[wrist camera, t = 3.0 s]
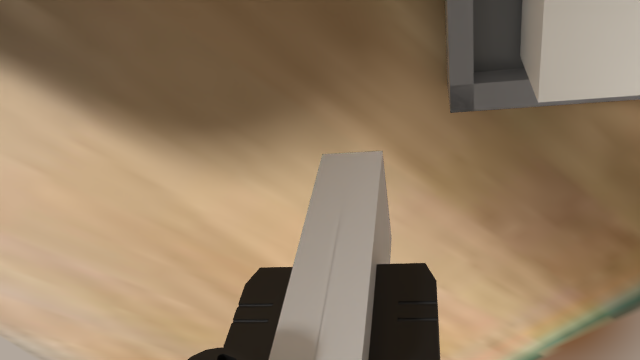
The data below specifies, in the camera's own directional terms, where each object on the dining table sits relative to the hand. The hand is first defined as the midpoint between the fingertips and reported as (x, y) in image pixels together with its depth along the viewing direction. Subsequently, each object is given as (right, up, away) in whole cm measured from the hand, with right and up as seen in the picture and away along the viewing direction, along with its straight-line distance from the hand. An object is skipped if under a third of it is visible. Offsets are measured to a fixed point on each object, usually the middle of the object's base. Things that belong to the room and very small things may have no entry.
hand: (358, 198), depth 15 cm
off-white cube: (+9, +7, +9) cm, 15 cm away
